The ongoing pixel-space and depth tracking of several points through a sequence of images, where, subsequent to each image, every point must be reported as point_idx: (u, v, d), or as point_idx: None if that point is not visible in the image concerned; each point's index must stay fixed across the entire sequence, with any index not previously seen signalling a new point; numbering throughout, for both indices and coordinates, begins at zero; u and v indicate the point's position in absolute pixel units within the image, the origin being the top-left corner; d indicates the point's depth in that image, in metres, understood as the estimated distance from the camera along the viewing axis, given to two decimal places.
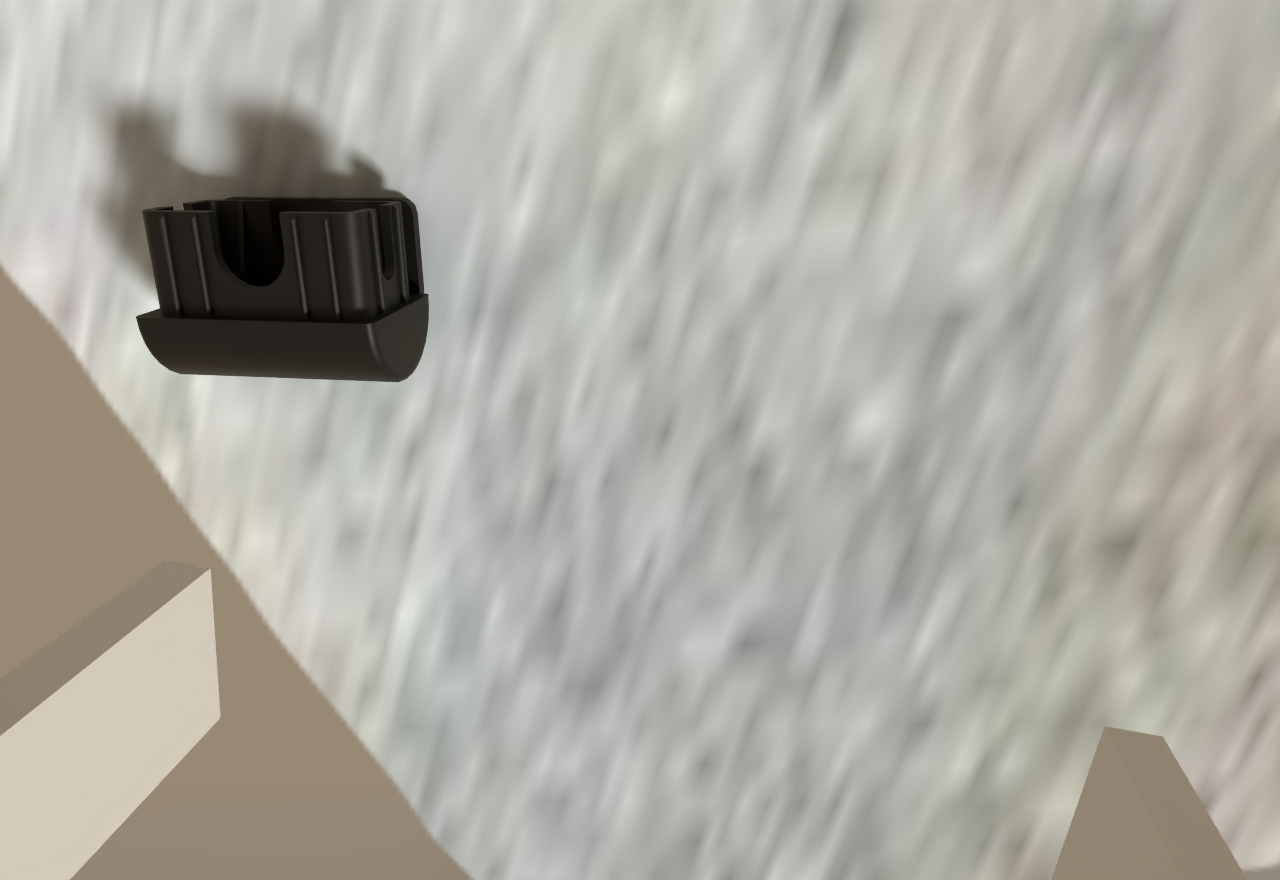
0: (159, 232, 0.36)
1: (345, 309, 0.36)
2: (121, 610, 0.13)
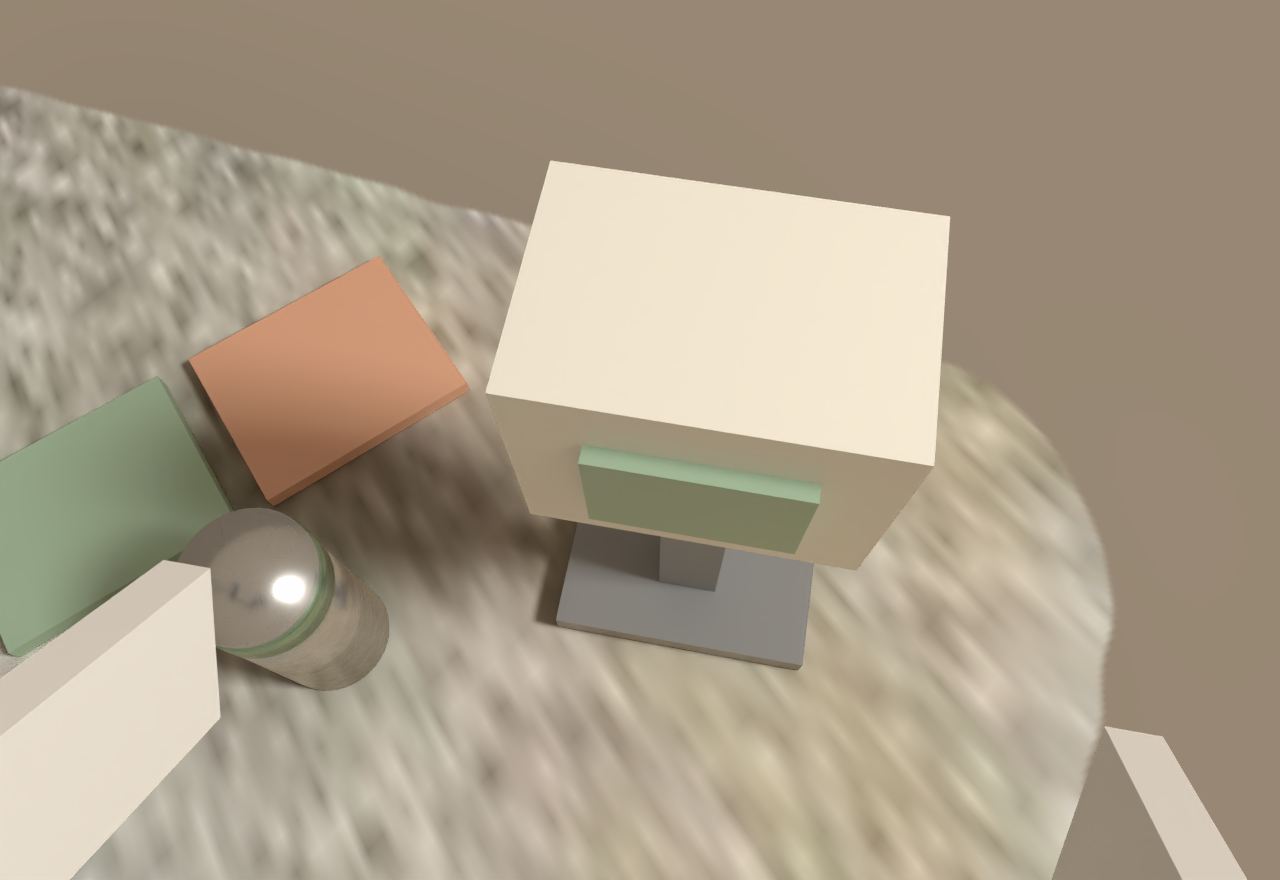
0: None
1: None
2: (122, 610, 0.13)
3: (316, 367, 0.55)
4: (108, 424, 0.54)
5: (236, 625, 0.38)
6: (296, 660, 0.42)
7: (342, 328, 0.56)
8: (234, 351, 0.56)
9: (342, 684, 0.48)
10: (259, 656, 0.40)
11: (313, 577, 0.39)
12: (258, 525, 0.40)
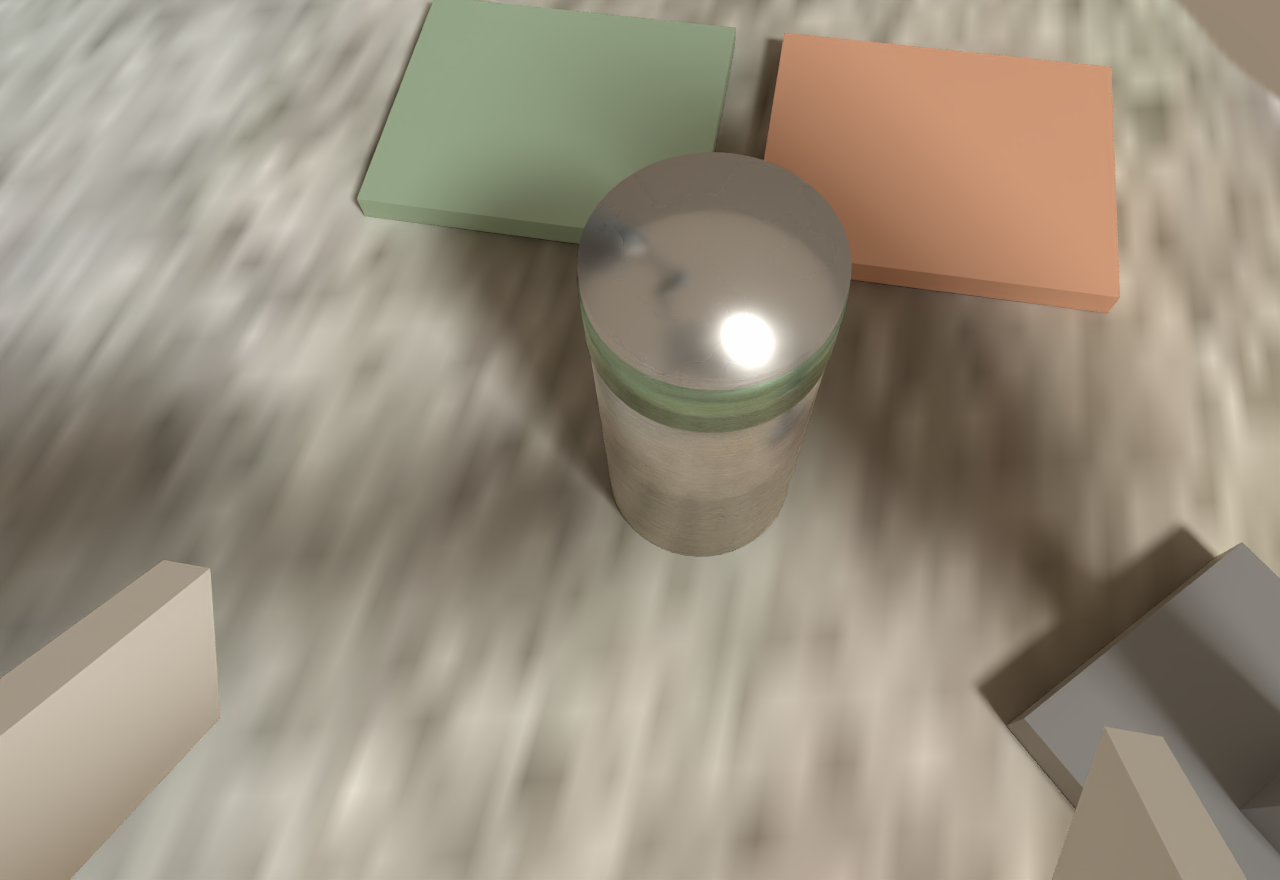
0: None
1: None
2: (122, 610, 0.13)
3: (928, 141, 0.35)
4: (644, 41, 0.38)
5: (647, 320, 0.20)
6: (663, 454, 0.23)
7: (997, 119, 0.36)
8: (844, 59, 0.37)
9: (663, 542, 0.29)
10: (630, 400, 0.21)
11: (814, 342, 0.19)
12: (788, 206, 0.21)
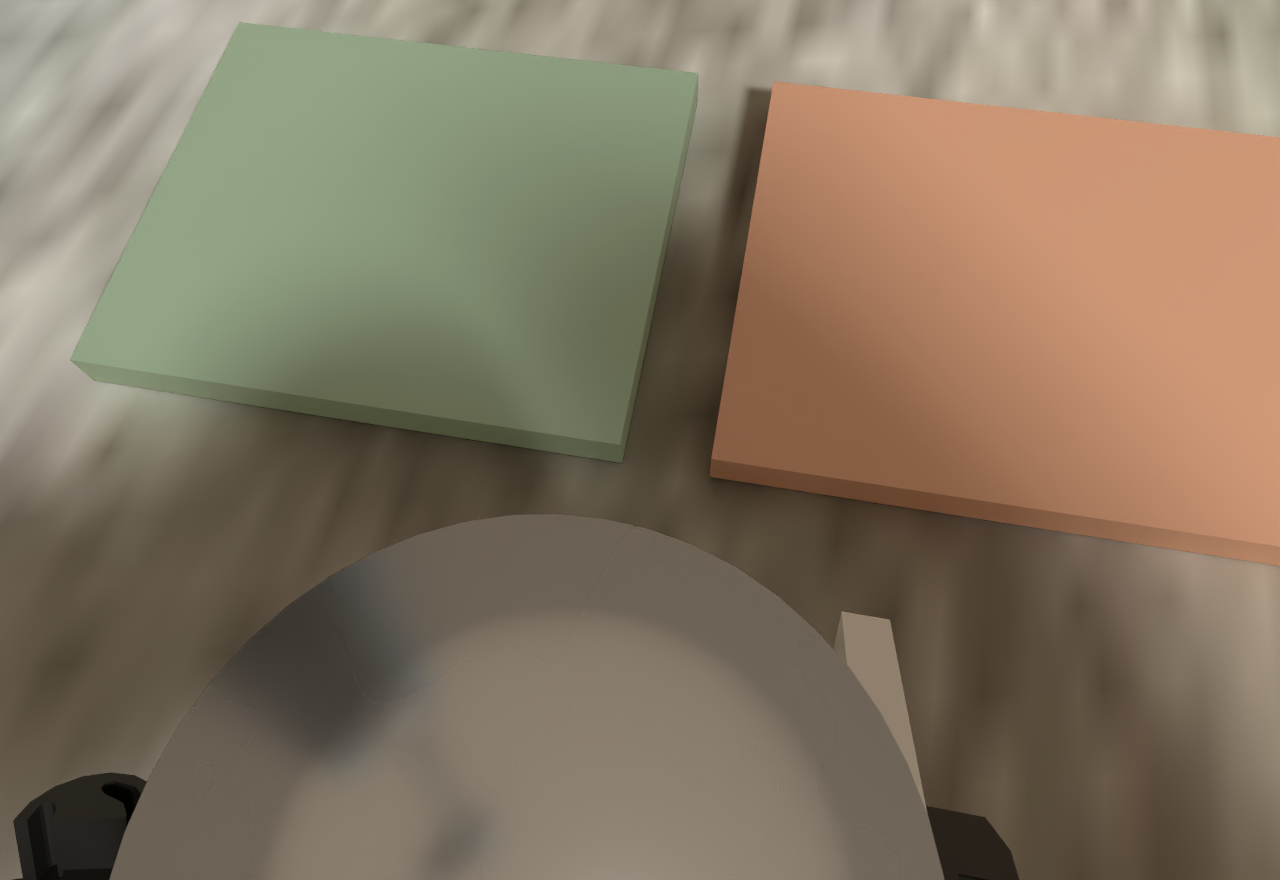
0: None
1: None
2: None
3: (1007, 265, 0.22)
4: (554, 95, 0.24)
5: None
6: None
7: (1118, 227, 0.22)
8: (867, 124, 0.24)
9: None
10: None
11: None
12: (755, 710, 0.07)
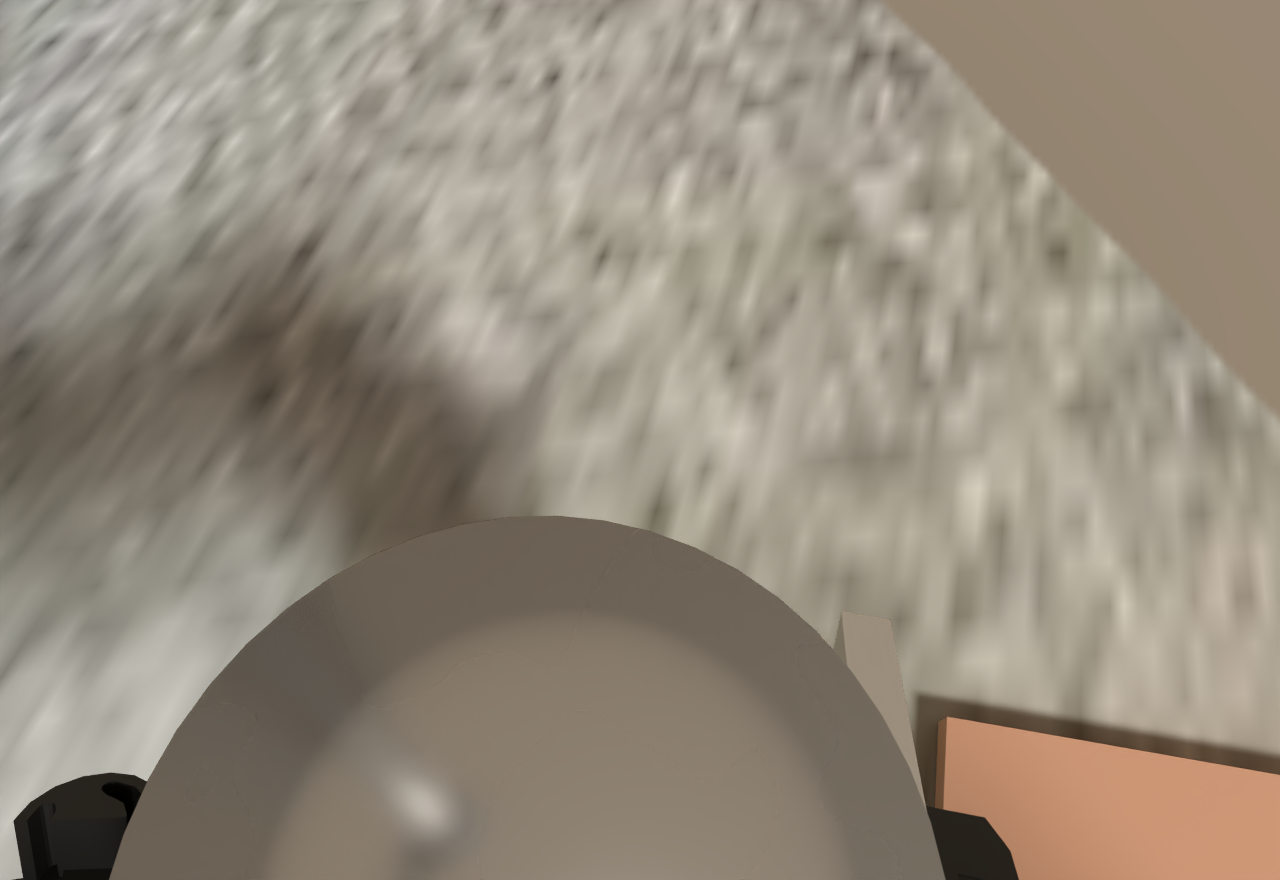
0: None
1: None
2: None
3: None
4: None
5: None
6: None
7: None
8: (1035, 772, 0.27)
9: None
10: None
11: None
12: (756, 714, 0.07)
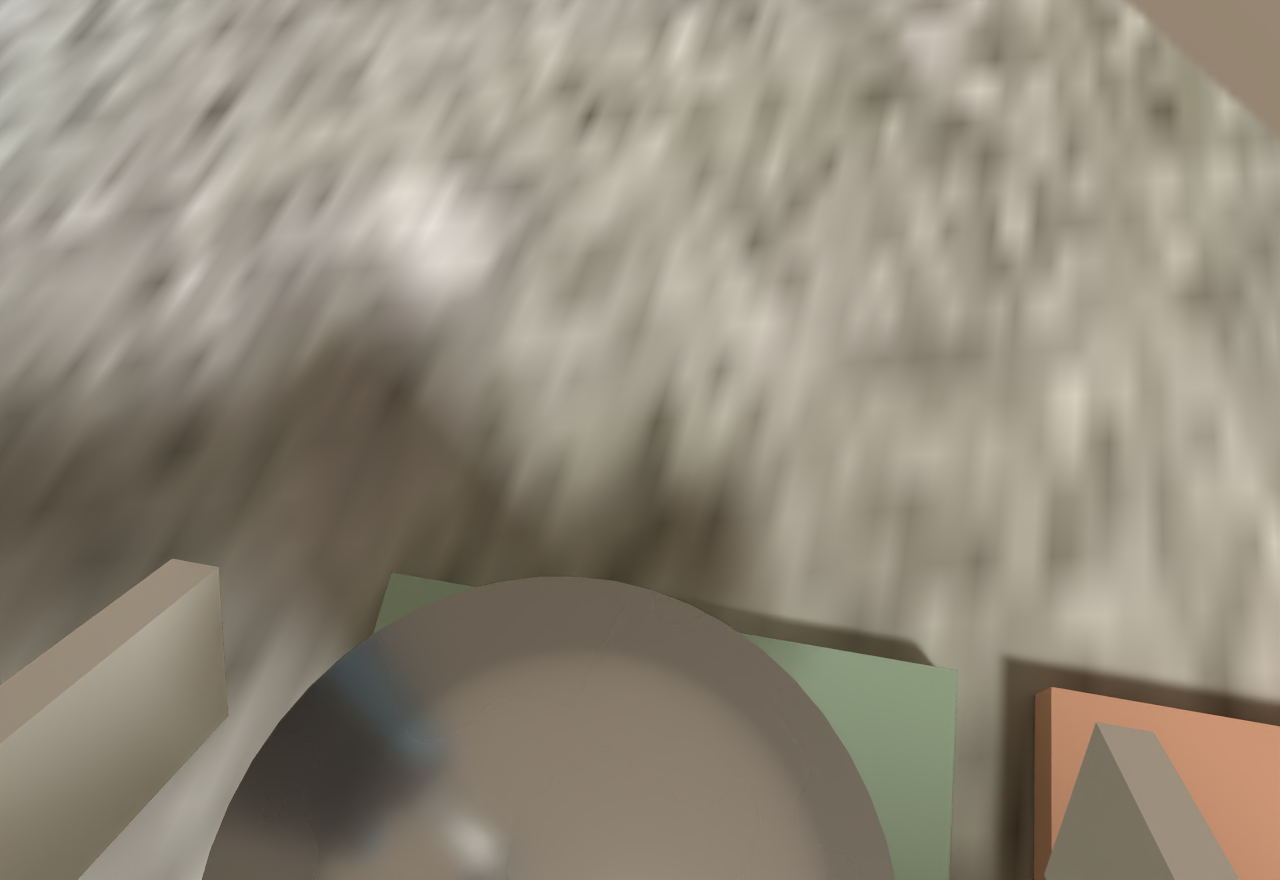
0: None
1: None
2: (131, 608, 0.13)
3: None
4: None
5: None
6: None
7: None
8: (1176, 762, 0.19)
9: None
10: None
11: None
12: (741, 749, 0.08)
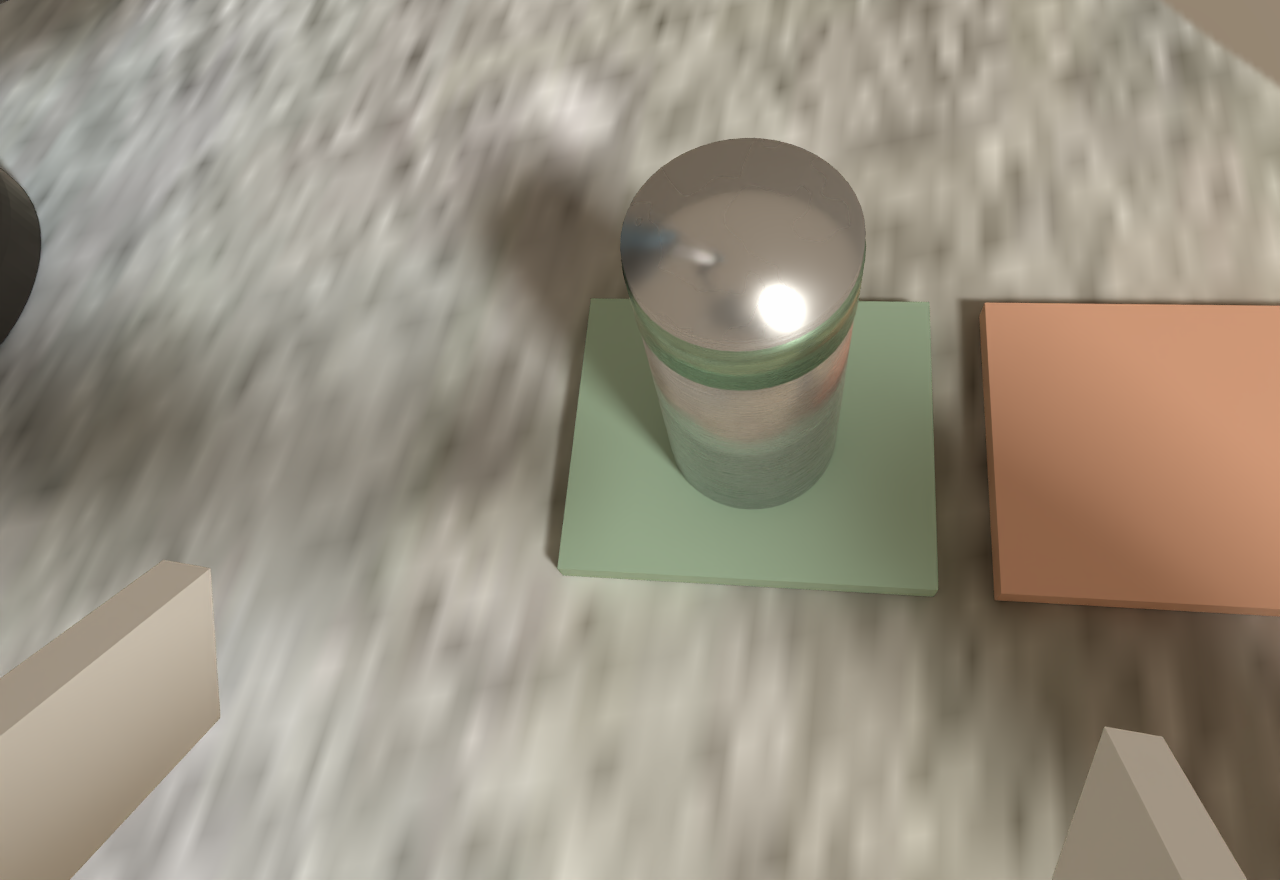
0: None
1: None
2: (121, 610, 0.13)
3: (1177, 429, 0.32)
4: None
5: (689, 297, 0.22)
6: (718, 415, 0.26)
7: (1251, 391, 0.32)
8: (1059, 330, 0.34)
9: (728, 500, 0.32)
10: (683, 370, 0.24)
11: (839, 296, 0.22)
12: (801, 178, 0.23)
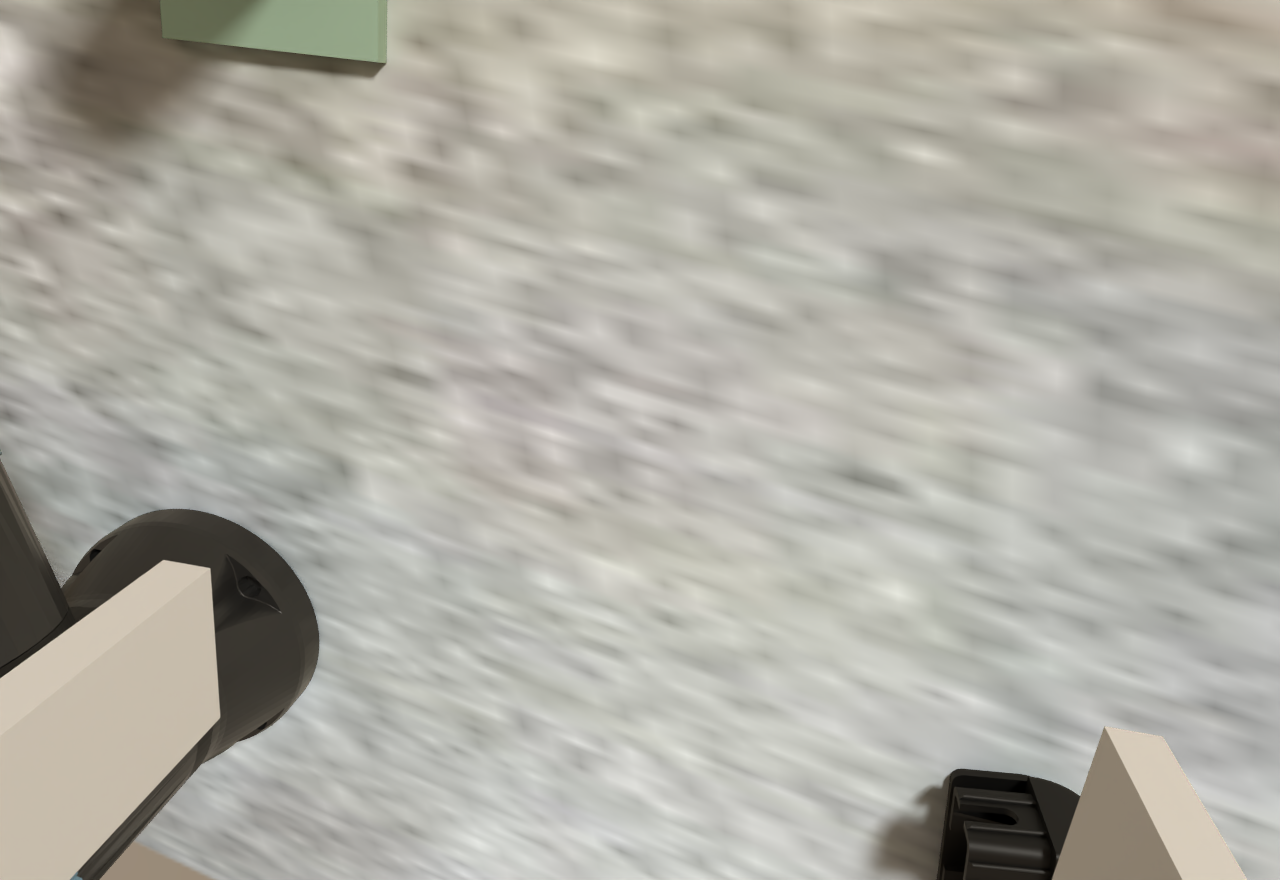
0: None
1: (1041, 866, 0.48)
2: (122, 610, 0.13)
3: None
4: None
5: None
6: None
7: None
8: None
9: None
10: None
11: None
12: None
